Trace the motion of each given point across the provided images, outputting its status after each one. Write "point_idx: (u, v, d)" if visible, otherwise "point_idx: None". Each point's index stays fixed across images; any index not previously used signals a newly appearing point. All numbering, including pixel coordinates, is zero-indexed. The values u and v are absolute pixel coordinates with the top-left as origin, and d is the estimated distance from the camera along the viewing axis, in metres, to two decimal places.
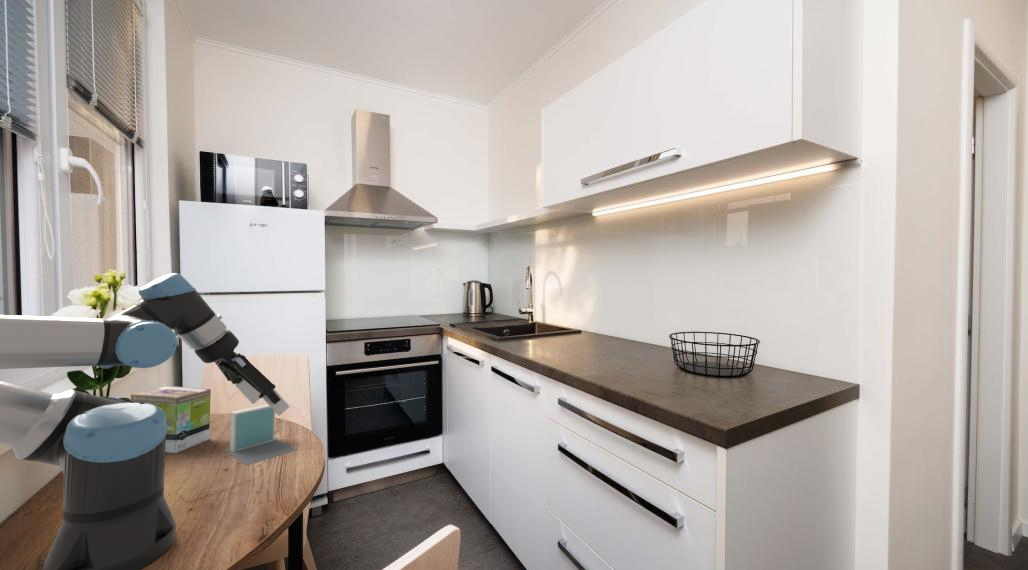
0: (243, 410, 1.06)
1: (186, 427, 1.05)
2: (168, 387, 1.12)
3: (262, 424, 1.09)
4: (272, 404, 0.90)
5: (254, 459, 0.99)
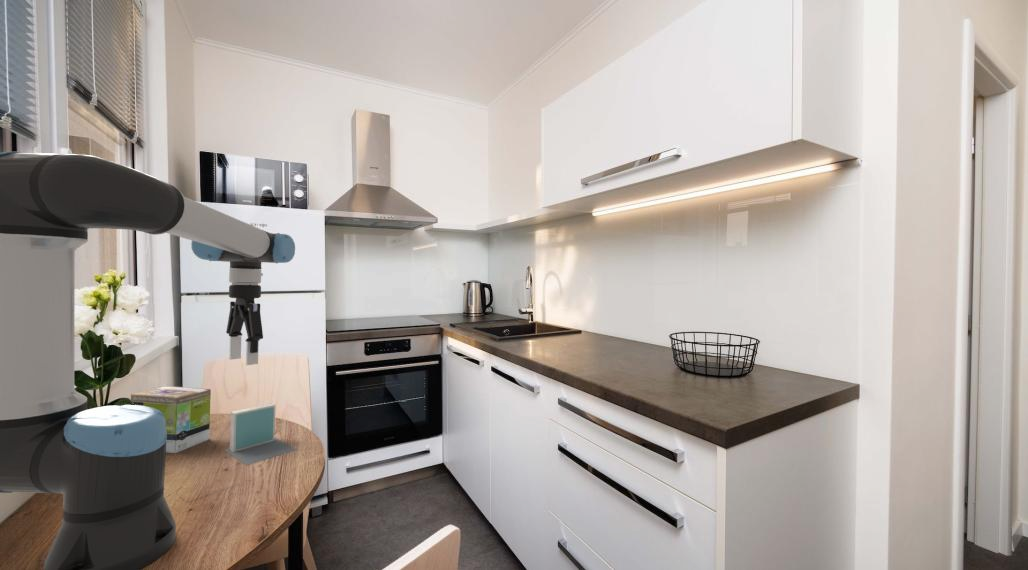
0: (243, 410, 1.06)
1: (186, 427, 1.05)
2: (168, 387, 1.12)
3: (262, 424, 1.09)
4: (249, 352, 1.09)
5: (254, 459, 0.99)
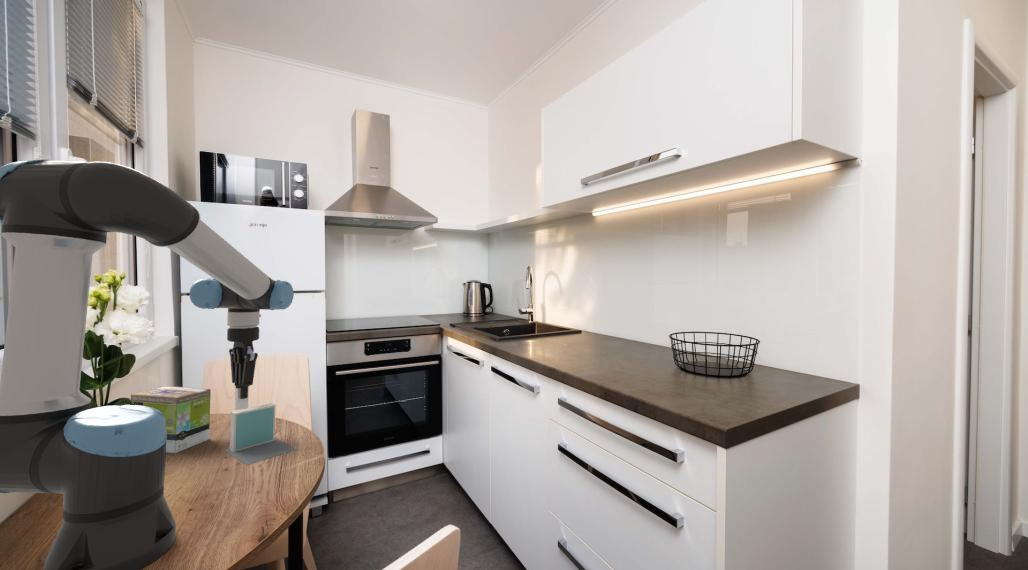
0: (243, 410, 1.06)
1: (186, 427, 1.05)
2: (168, 387, 1.12)
3: (262, 424, 1.09)
4: (239, 398, 1.12)
5: (254, 459, 0.99)
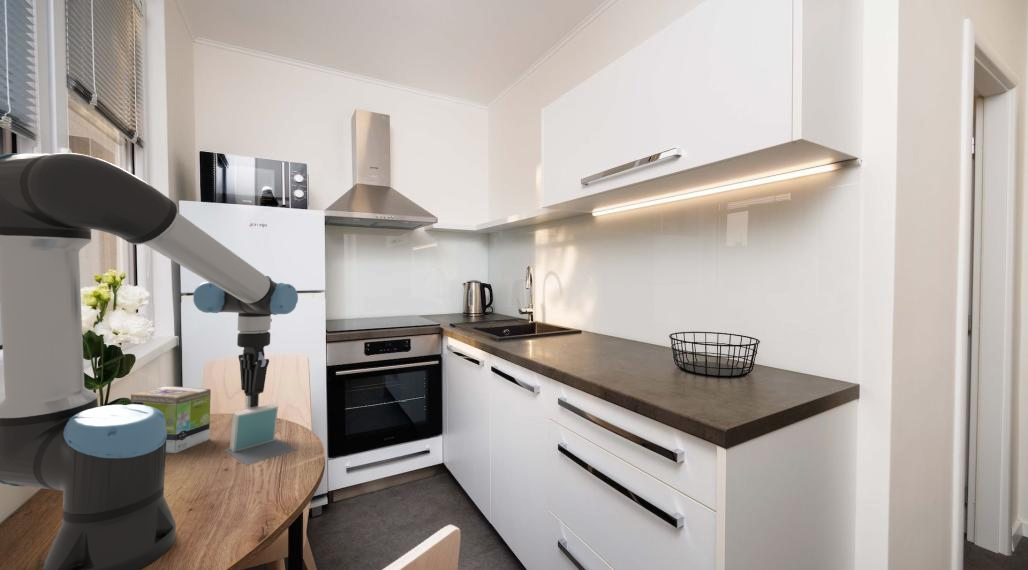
0: (246, 411, 1.05)
1: (186, 427, 1.05)
2: (168, 387, 1.12)
3: (263, 425, 1.08)
4: (249, 406, 1.07)
5: (254, 459, 0.99)
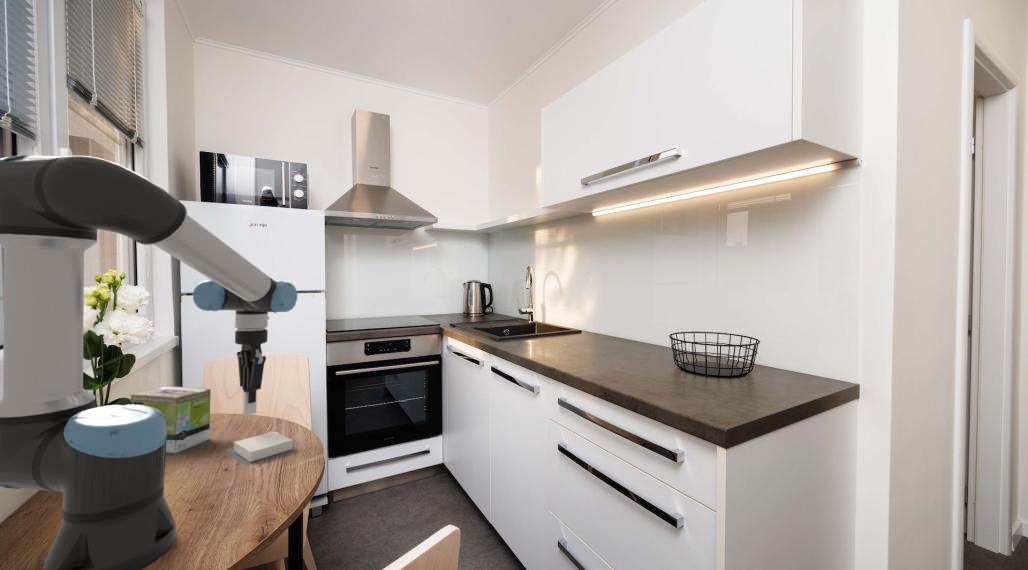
0: (261, 454, 1.00)
1: (186, 427, 1.05)
2: (168, 387, 1.12)
3: None
4: (247, 403, 1.09)
5: None
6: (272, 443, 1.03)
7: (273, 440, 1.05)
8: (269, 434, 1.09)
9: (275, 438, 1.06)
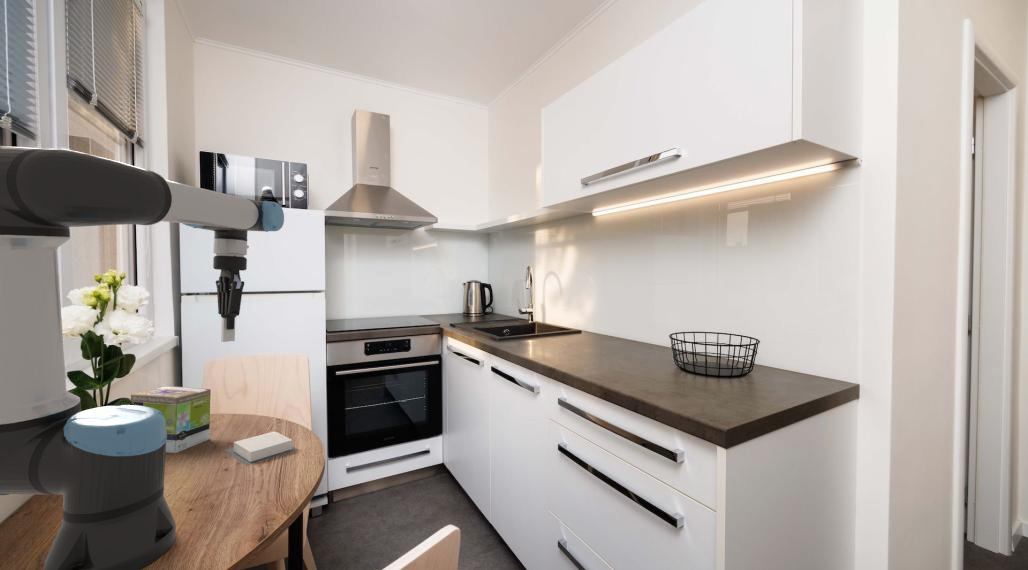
0: (261, 454, 1.00)
1: (186, 427, 1.05)
2: (168, 387, 1.12)
3: None
4: (225, 329, 1.08)
5: None
6: (272, 443, 1.03)
7: (273, 440, 1.05)
8: (269, 434, 1.09)
9: (275, 438, 1.06)
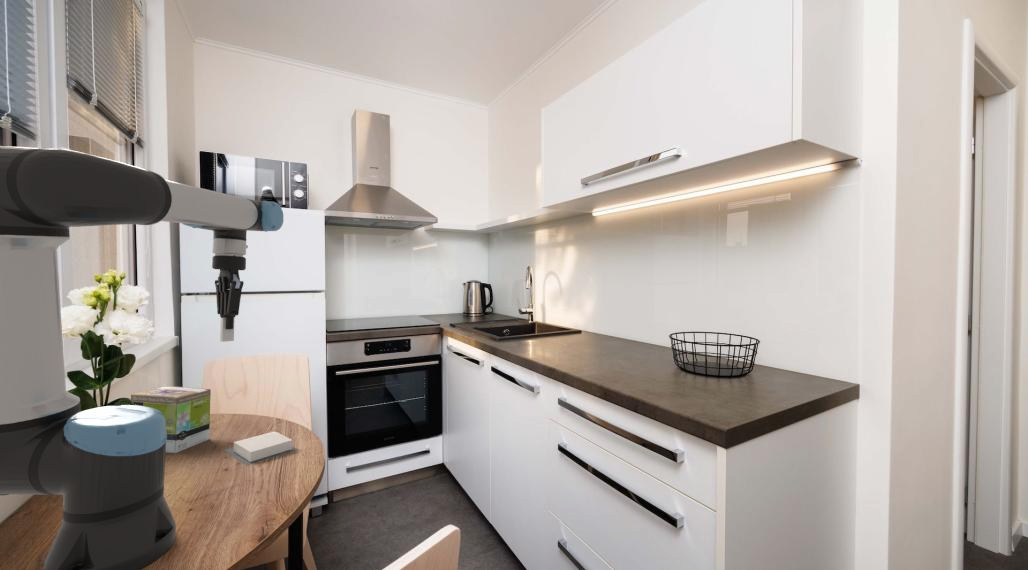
0: (261, 454, 1.00)
1: (186, 427, 1.05)
2: (168, 387, 1.12)
3: None
4: (224, 329, 1.08)
5: None
6: (272, 443, 1.03)
7: (273, 440, 1.05)
8: (269, 434, 1.09)
9: (275, 438, 1.06)
